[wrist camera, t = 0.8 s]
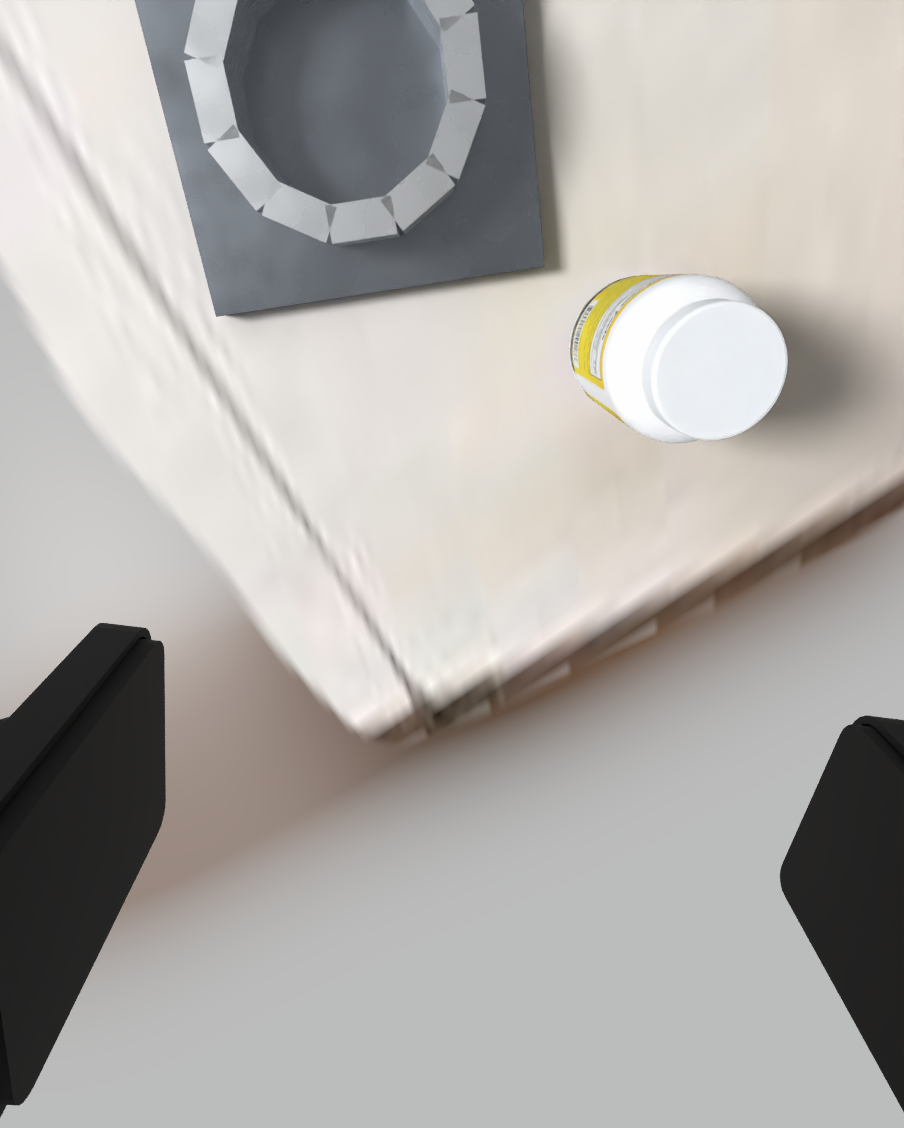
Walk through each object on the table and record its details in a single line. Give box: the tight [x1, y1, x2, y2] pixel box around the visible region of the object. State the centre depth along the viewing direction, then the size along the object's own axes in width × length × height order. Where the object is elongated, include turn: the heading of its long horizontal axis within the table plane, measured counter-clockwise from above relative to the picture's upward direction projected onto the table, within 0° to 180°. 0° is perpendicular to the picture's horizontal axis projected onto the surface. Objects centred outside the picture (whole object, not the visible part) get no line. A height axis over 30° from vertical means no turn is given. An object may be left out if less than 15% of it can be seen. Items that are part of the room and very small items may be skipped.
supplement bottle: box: [569, 274, 788, 443], centre depth 25 cm, size 5×5×10 cm
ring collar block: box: [135, 0, 544, 317], centre depth 24 cm, size 13×13×4 cm
